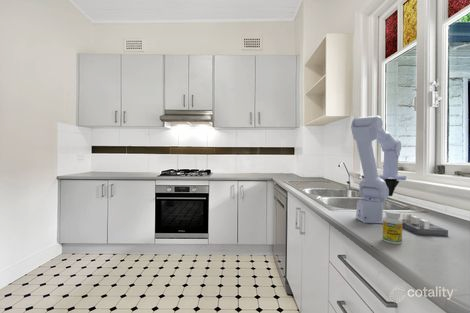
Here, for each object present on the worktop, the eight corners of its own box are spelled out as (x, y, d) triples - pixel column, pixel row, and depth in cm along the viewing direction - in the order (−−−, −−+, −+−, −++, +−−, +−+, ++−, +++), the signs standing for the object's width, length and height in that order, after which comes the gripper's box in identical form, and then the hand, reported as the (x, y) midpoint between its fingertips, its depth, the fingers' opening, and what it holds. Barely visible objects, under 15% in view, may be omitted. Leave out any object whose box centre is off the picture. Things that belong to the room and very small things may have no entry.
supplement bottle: (398, 240, 84) (400, 211, 84) (404, 245, 79) (405, 214, 78) (380, 237, 85) (381, 209, 85) (384, 243, 80) (385, 213, 80)
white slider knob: (414, 224, 95) (415, 217, 95) (410, 222, 97) (410, 215, 97) (419, 224, 95) (419, 217, 95) (414, 222, 97) (415, 215, 97)
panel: (417, 234, 90) (417, 221, 90) (395, 224, 103) (396, 212, 103) (447, 236, 89) (448, 222, 89) (422, 225, 102) (422, 213, 102)
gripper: (382, 166, 111) (380, 197, 111) (412, 166, 113) (410, 197, 113) (371, 165, 118) (370, 194, 118) (399, 165, 120) (398, 194, 120)
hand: (389, 195), depth 116 cm, fingers closed
